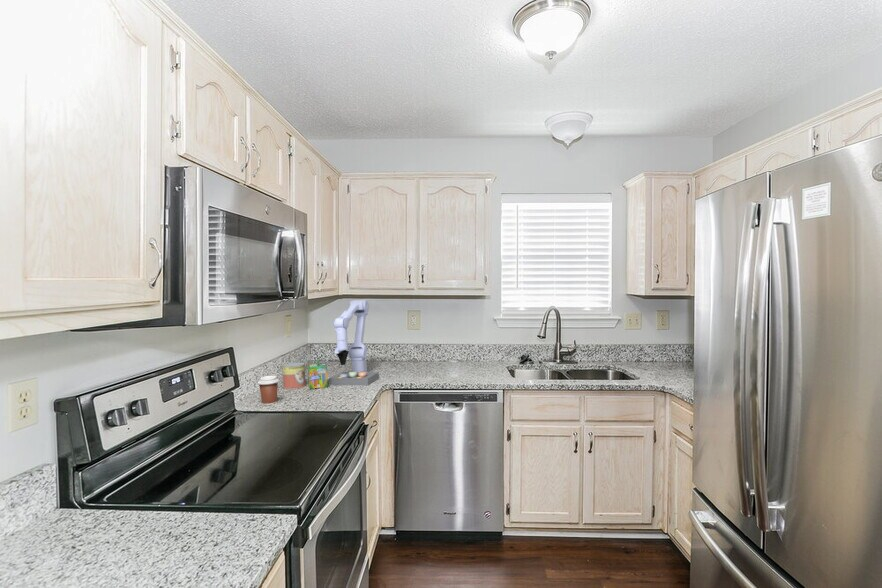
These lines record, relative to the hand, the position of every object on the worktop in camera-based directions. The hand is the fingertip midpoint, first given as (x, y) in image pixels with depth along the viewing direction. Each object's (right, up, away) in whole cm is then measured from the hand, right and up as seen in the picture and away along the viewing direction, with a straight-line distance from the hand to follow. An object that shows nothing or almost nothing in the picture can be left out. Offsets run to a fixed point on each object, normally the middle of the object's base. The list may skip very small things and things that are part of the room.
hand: (343, 364), depth 239 cm
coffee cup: (-25, -12, -38) cm, 47 cm away
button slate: (0, -8, 0) cm, 8 cm away
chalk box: (-11, -11, -8) cm, 18 cm away
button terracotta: (+11, -7, -2) cm, 13 cm away
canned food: (-24, -11, -7) cm, 27 cm away
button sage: (+6, -7, -1) cm, 9 cm away
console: (+6, -9, +1) cm, 11 cm away
